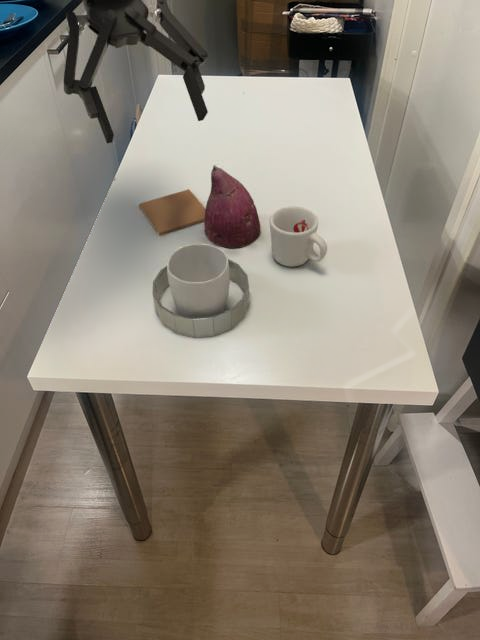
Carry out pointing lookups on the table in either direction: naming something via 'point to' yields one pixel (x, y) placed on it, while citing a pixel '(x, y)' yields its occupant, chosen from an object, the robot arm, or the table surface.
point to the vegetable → (230, 212)
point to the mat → (173, 211)
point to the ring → (202, 324)
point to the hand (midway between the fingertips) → (158, 128)
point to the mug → (199, 280)
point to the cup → (295, 236)
